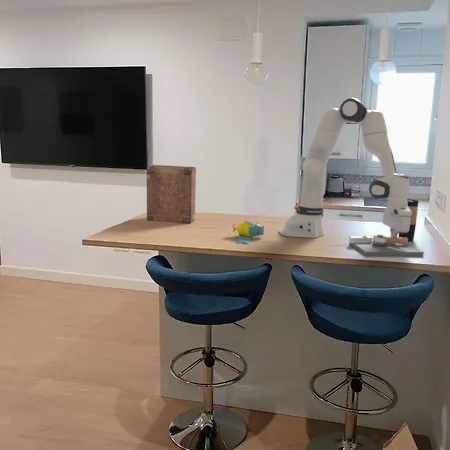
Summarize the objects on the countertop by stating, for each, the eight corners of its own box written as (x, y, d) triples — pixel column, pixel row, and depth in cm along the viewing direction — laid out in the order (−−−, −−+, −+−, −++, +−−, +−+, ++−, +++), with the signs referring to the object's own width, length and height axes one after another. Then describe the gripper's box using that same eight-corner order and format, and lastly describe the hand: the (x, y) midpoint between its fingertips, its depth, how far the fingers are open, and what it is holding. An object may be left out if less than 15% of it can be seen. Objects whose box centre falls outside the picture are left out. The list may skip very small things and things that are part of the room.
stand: (363, 256, 205) (364, 245, 204) (347, 244, 224) (348, 234, 223) (423, 256, 208) (424, 246, 207) (401, 244, 227) (402, 235, 226)
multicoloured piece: (375, 246, 214) (376, 236, 213) (370, 242, 220) (371, 233, 219) (409, 246, 216) (410, 236, 215) (403, 243, 222) (404, 233, 221)
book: (146, 220, 264) (146, 166, 257) (151, 217, 272) (151, 164, 266) (190, 223, 259) (191, 168, 253) (194, 220, 268) (195, 167, 262)
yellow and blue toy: (236, 214, 246) (265, 216, 244) (235, 230, 248) (264, 233, 246) (229, 225, 219) (262, 228, 217) (228, 243, 220) (261, 246, 219)
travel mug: (395, 237, 241) (399, 199, 237) (409, 238, 242) (414, 199, 238) (401, 241, 234) (406, 201, 230) (416, 241, 234) (421, 201, 230)
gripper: (380, 204, 230) (377, 232, 233) (400, 212, 210) (397, 243, 213) (393, 204, 231) (390, 232, 233) (414, 212, 211) (410, 243, 214)
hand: (393, 237), depth 223 cm, fingers closed
